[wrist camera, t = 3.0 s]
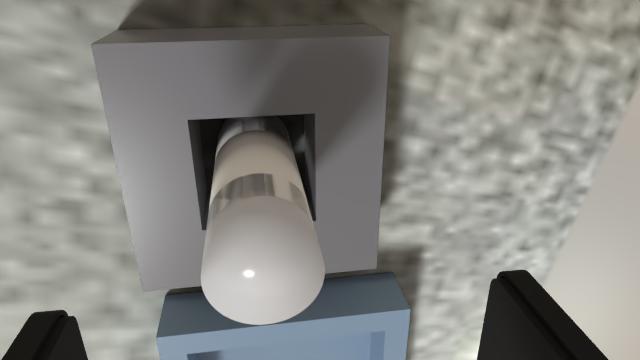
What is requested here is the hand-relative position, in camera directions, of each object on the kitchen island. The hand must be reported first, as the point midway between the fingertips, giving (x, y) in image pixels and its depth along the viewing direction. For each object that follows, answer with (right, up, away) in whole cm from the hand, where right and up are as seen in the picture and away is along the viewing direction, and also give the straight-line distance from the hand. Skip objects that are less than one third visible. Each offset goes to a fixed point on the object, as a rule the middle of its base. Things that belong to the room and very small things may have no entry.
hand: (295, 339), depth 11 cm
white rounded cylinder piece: (-2, +5, +10) cm, 12 cm away
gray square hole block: (-2, +5, +10) cm, 12 cm away
